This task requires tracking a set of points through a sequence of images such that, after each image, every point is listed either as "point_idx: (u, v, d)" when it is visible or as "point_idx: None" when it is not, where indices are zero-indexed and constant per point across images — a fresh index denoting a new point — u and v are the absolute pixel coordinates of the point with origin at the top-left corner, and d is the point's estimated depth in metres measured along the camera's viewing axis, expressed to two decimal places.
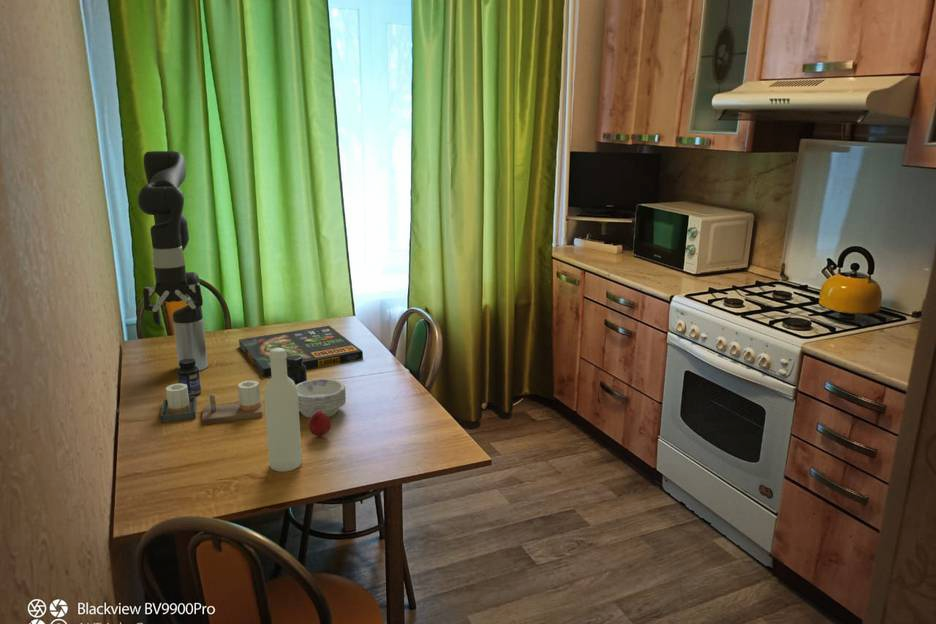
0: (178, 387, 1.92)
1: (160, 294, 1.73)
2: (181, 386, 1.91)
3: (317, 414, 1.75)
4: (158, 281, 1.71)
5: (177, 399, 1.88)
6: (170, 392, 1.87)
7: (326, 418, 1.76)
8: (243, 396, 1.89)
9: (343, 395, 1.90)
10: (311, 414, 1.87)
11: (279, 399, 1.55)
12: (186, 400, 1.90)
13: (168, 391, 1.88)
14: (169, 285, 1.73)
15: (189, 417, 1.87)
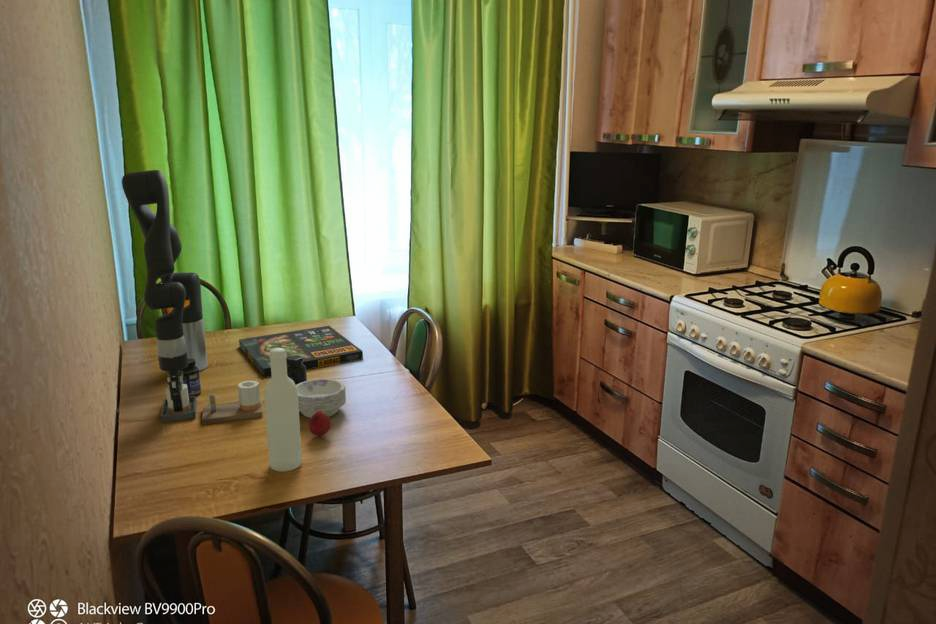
0: None
1: (178, 380, 1.87)
2: None
3: (317, 414, 1.75)
4: (182, 367, 1.86)
5: None
6: None
7: (326, 418, 1.76)
8: (243, 396, 1.89)
9: (343, 395, 1.90)
10: (311, 414, 1.87)
11: (279, 399, 1.55)
12: (186, 400, 1.90)
13: (168, 391, 1.88)
14: (178, 370, 1.88)
15: (189, 417, 1.87)
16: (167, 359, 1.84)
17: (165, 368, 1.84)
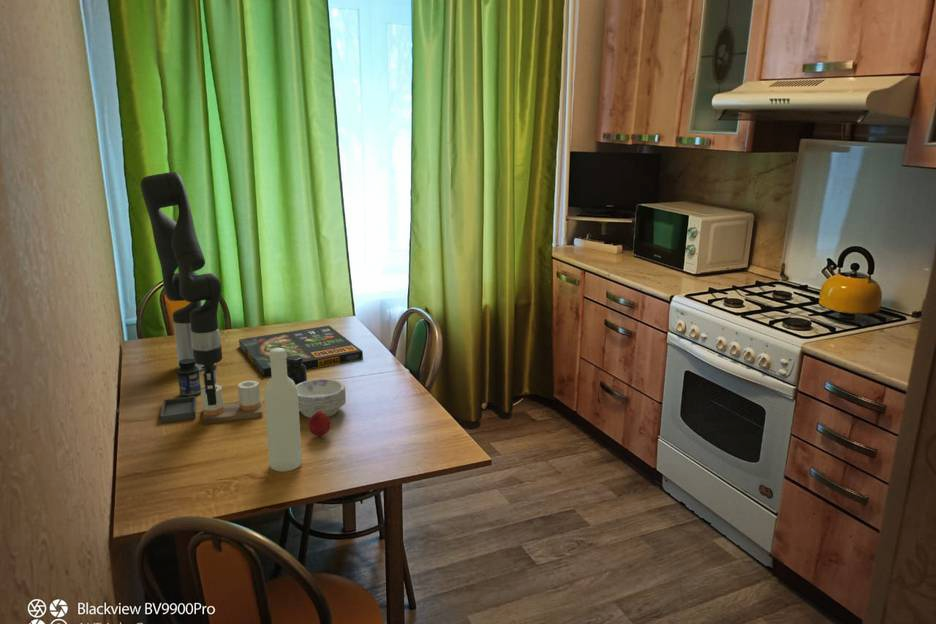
0: (212, 388, 1.89)
1: (213, 374, 1.84)
2: (215, 387, 1.89)
3: (317, 414, 1.75)
4: (217, 360, 1.83)
5: None
6: (205, 393, 1.85)
7: (326, 418, 1.76)
8: (243, 396, 1.89)
9: (343, 395, 1.90)
10: (311, 414, 1.87)
11: (279, 399, 1.55)
12: (221, 401, 1.88)
13: (203, 392, 1.85)
14: None
15: (189, 417, 1.87)
16: (202, 352, 1.80)
17: (199, 361, 1.81)
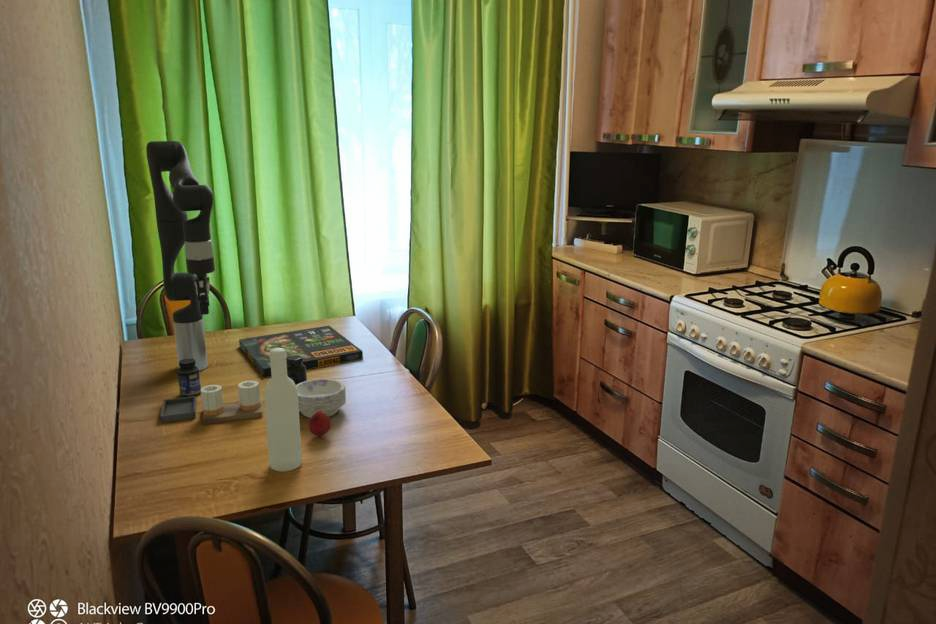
0: (212, 388, 1.89)
1: (206, 284, 1.89)
2: (215, 387, 1.89)
3: (317, 414, 1.75)
4: (209, 271, 1.88)
5: (212, 400, 1.86)
6: (205, 393, 1.85)
7: (326, 418, 1.76)
8: (243, 396, 1.89)
9: (343, 395, 1.90)
10: (311, 414, 1.87)
11: (279, 399, 1.55)
12: (221, 401, 1.88)
13: (203, 392, 1.85)
14: (205, 274, 1.91)
15: (189, 417, 1.87)
16: (195, 261, 1.86)
17: (192, 271, 1.87)
